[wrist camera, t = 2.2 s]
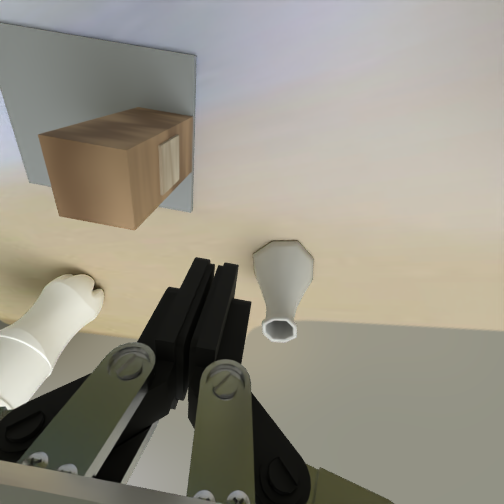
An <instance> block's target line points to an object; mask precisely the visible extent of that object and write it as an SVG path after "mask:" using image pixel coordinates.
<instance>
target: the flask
mask: <svg viewBox="0 0 504 504" xmlns="http://www.w3.org/2000/svg"><path fill="white" fill-rule="evenodd" d="M253 260H254V270H255V276H256V279H257V281H258V284H259V286H260V289H261V291H262V294H263V297H264V300H265V303H266V310H267V311H266V318H265V319H264V320H263V321H262V332H263V335H264V336H265V337H267V338H268V339H269V340H270V341H271V342H288V341H290V340H292V339H294V338H296V337H297V325H296V323H295V322H294V317H295V313H296V309H297V306H298V304H299V302H300V300H301V299H302V297H303V295H304V293H305V291H306V290H307V288H308V286H309V285H310V283H311V281H312V280H313V264H314V258H313V257H312V256H311V255H310V254H309V253H308V252H307V251H306V249H305V248H304V247H303V246H302V245H301V244H300V243H299V242H298V241H272V242H271V243H269V244H268V245H266V246H265V247H263V248H262V249H260V250H259V251H257V252H256V253H254V254H253Z"/></svg>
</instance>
